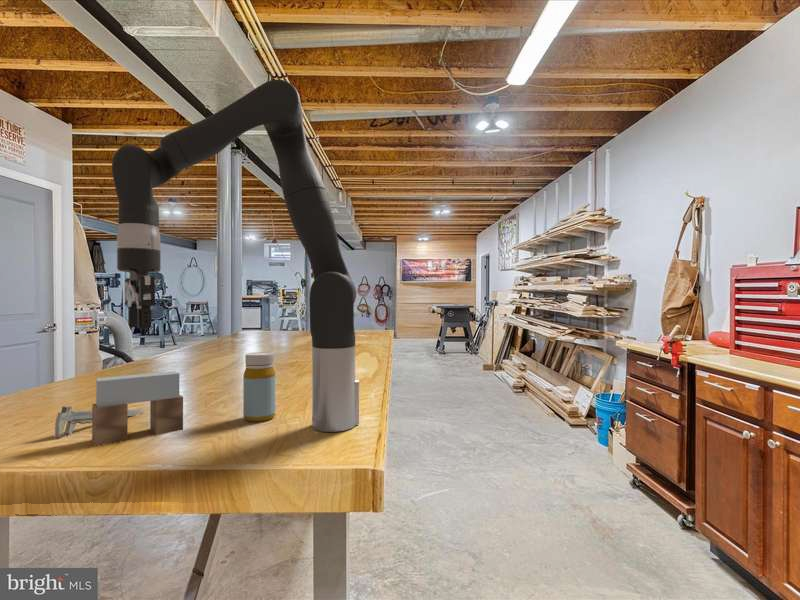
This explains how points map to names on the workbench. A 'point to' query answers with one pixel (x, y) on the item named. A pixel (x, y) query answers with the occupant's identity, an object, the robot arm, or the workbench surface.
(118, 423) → the pillar
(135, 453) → the workbench surface
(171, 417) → the pillar
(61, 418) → the caliper
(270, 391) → the bottle
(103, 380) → the lintel
